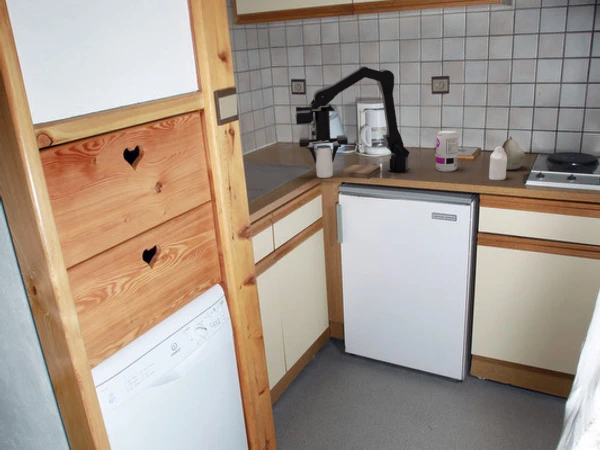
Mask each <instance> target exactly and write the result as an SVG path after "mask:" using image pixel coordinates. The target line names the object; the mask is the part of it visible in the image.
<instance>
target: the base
mask: <svg viewBox="0 0 600 450" xmlns="http://www.w3.org/2000/svg"><path fill="white" fill-rule="evenodd" d="M380 172H381V166H379V165H378V166H377V165H367V164H364V165H363V164H352V165H351V164H350V166H348V167H346V168H344V169H342V170H340V177H345V178H346V177H347V178H348V177H349V178H358V179H359V178H360V179H371V178H372V177H374V176H375V175H377V174H379V173H380Z"/></svg>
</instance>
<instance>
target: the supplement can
mask: <svg viewBox="0 0 600 450" xmlns="http://www.w3.org/2000/svg"><path fill="white" fill-rule="evenodd" d="M435 149H436V151H435V169H436V170H438V172H444V173H445V172H453V171H456V170H457V169H458V158H459V157H458V155H459V134H458V131H456V130H449V129H447V130H439V131H438V132H437V134H436V145H435Z"/></svg>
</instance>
